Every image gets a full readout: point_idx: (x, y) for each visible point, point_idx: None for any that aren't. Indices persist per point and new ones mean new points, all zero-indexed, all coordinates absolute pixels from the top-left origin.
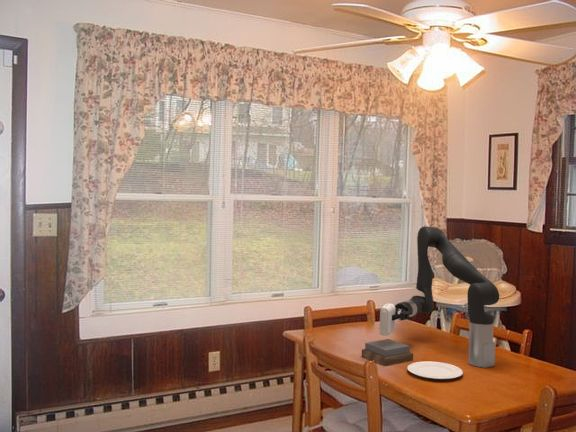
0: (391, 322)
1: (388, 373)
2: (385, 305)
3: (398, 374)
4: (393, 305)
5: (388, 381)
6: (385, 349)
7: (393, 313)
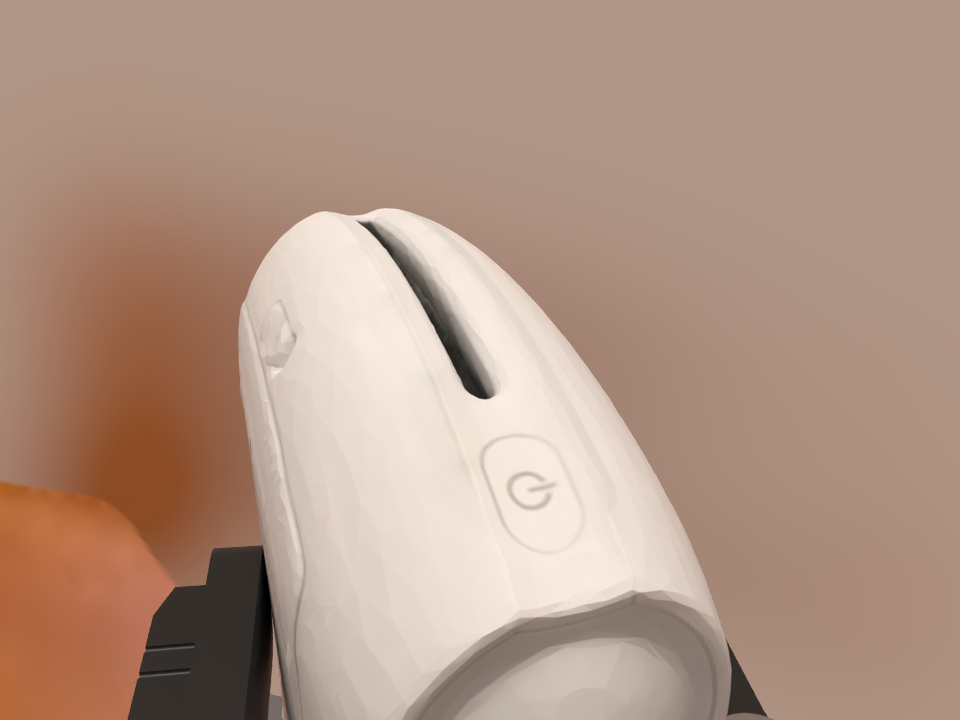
0: (279, 668)
1: (130, 629)
2: (401, 219)
3: (26, 664)
4: (334, 482)
5: (68, 506)
6: (275, 717)
7: (276, 618)
